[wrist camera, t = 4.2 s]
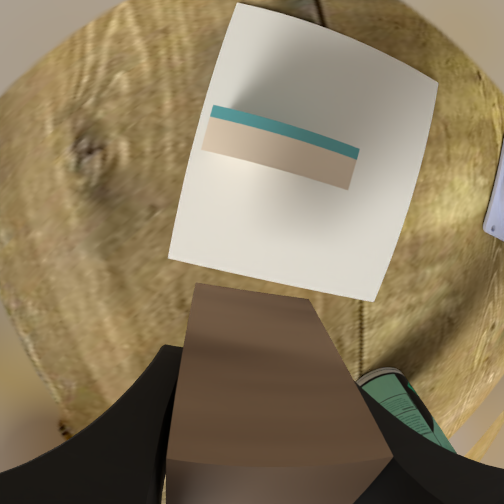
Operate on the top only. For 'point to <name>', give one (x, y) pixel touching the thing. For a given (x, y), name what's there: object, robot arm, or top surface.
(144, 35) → the top surface
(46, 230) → the top surface
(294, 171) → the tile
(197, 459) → the walnut block
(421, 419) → the spray can
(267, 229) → the mat
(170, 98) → the top surface
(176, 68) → the top surface
